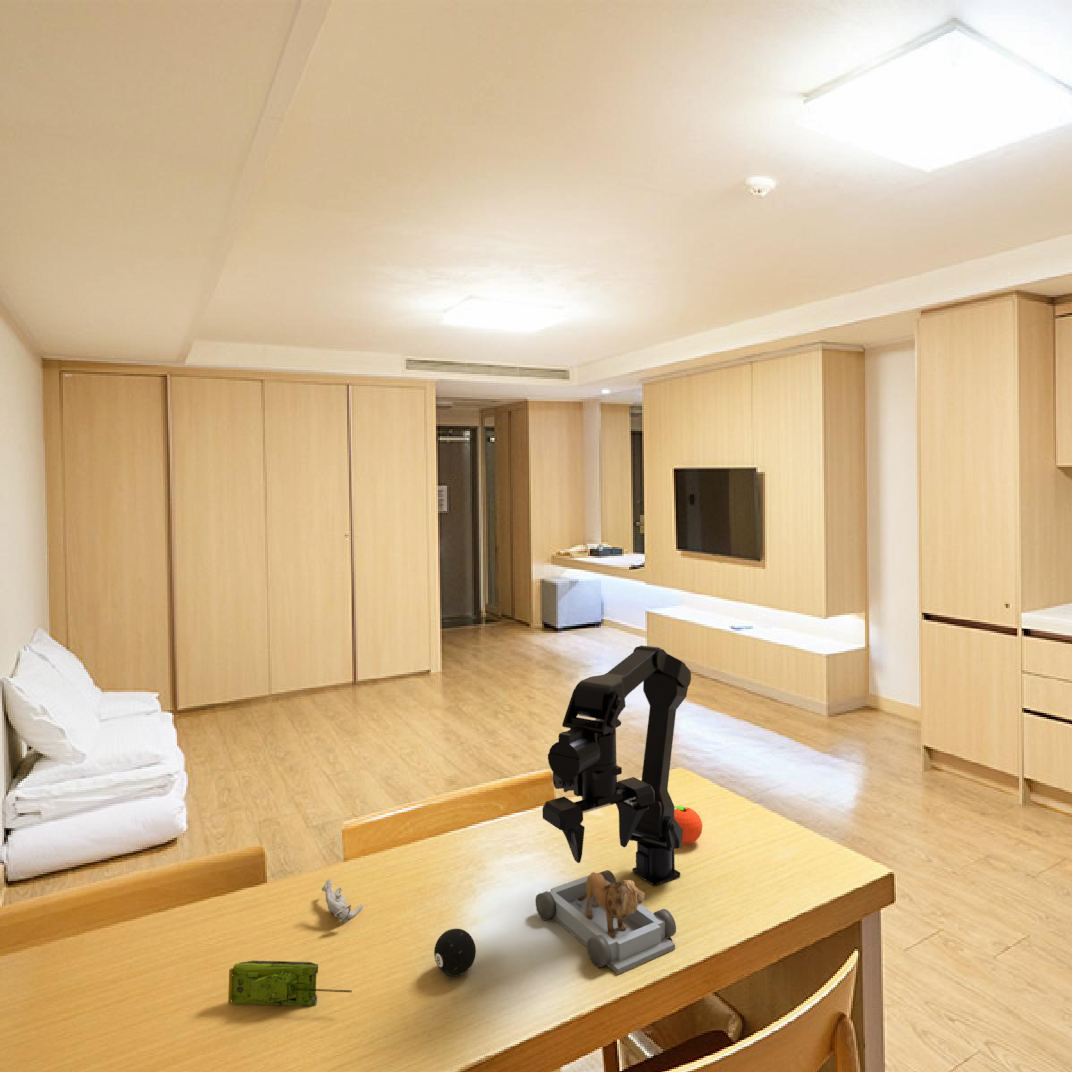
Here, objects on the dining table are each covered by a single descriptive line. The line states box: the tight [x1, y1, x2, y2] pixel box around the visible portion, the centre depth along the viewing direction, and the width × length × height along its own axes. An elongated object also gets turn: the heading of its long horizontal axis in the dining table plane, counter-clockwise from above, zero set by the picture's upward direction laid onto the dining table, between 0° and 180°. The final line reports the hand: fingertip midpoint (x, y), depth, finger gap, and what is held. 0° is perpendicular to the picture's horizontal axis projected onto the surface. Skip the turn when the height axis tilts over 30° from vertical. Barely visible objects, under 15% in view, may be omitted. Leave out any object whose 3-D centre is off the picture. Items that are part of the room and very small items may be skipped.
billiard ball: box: [433, 928, 477, 977], centre depth 111 cm, size 6×6×6 cm
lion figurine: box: [578, 871, 646, 938], centre depth 121 cm, size 15×5×9 cm, turn 36°
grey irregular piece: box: [321, 879, 364, 925], centre depth 128 cm, size 8×5×12 cm
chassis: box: [534, 869, 677, 975], centre depth 122 cm, size 14×22×4 cm, turn 31°
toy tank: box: [227, 960, 353, 1007], centre depth 104 cm, size 7×19×10 cm
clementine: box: [674, 805, 703, 845], centre depth 151 cm, size 8×7×7 cm
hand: (600, 853), depth 122 cm, fingers open, 9 cm apart
